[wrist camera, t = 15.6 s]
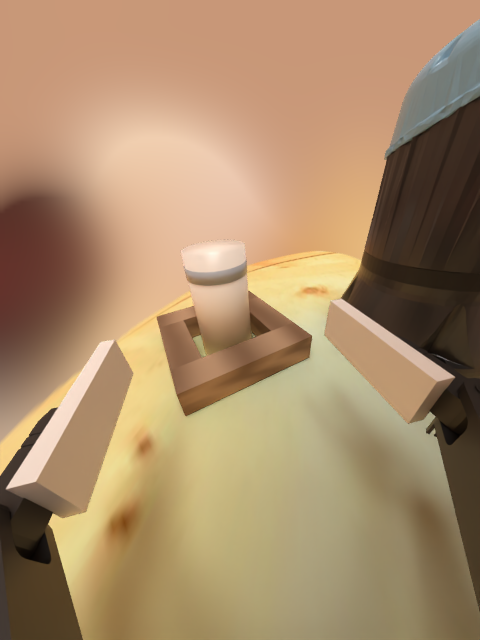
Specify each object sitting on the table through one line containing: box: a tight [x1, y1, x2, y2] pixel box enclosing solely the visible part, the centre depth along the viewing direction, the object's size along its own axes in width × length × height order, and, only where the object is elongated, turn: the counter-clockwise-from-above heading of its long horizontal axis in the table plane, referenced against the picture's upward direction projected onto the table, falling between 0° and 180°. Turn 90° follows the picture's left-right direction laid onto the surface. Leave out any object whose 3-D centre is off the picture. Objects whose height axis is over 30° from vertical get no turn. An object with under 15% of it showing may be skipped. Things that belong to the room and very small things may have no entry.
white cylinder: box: [181, 240, 251, 355], centre depth 22 cm, size 6×6×12 cm
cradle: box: [157, 291, 312, 416], centre depth 24 cm, size 14×14×3 cm
